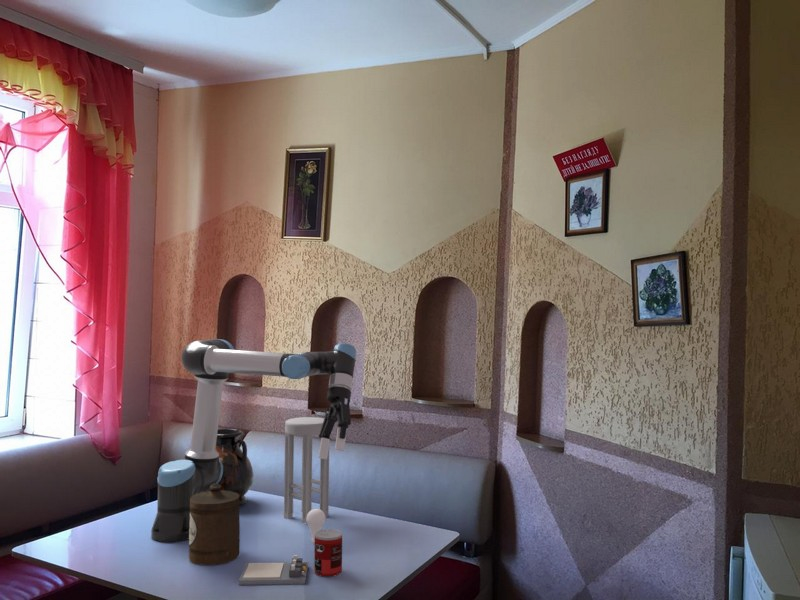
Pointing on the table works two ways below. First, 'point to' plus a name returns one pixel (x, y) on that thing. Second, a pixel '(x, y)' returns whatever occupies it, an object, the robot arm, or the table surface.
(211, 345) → the robot arm
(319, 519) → the lightbulb
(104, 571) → the table surface
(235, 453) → the amphora vase
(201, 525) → the wooden container
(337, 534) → the canned food
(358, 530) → the table surface
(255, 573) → the breaker board
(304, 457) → the stool
